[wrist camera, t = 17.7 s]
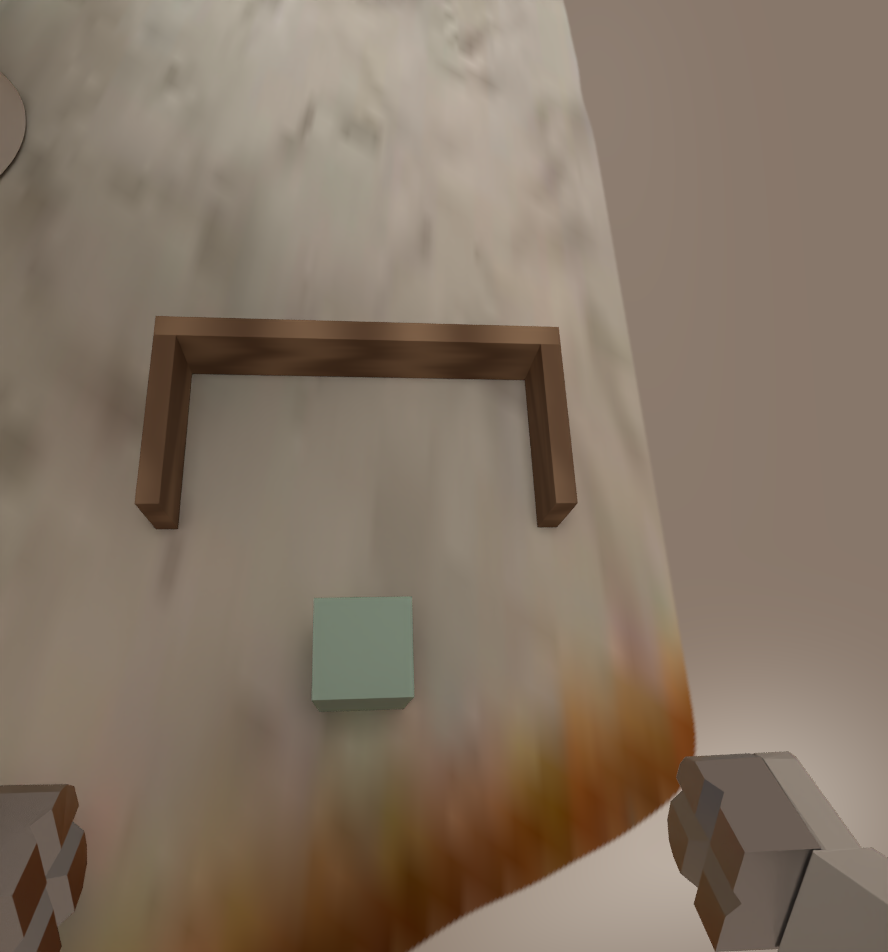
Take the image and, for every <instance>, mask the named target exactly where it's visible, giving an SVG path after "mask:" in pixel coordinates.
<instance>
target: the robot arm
mask: <svg viewBox="0 0 888 952" xmlns="http://www.w3.org/2000/svg"><path fill="white" fill-rule="evenodd" d="M25 127H26V115H25V109H24V105H23V102H22V99H21V97H20V95H19V93H18V92H17V90H16V88H15V87H14V86H13V84H12V83H11V82H10V81H9V80H8V79H7V78H6V77H5V76H4V75H3V74H2V73H1V72H0V175H1V174H2V173H3V171H4V170H5V169H6V168H7V167H8V166H9V164H10V163H11V162H12V160H13V159H14V157H15V156H16V154H17V152H18V150H19V148H20V146H21V143H22V141H23V137H24V133H25ZM676 778H677V780H678V782H679V784H680V786H681V788H682V791H681V792H680V793H679V794H678V795H677V796H676V797H675V798H674V799H673V800H672V801H671V803H670V808H669V814H668V819H667V821H668V834H669V842H670V846H671V849H672V853H673V857H674V859H675V861H676V864H677V866H678V869H679V871H680V873H681V874H682V875H683V876H684V877H685V878H687V879H688V880H689V881H690V882H692V883H693V884H694V885H695V886H696V887H698V890H697V894H696V898H695V901H694V905H695V907H696V910H697V912H698V914H699V916H700V918H701V921H702V923H703V925H704V928H705V930H706V932H707V934H708V937H709V939H710V941H711V943H712V945H713V948H714V950H715V952H719V951H742V950H765V949H778V952H888V857H886V856H885V855H883V854H882V853H880V852H878V851H877V850H875V849H874V848H862V847H861V846H860V845H859V843H858V842H857V840H856V839H855V838H854V836H853V835H852V834H851V832H850V831H849V829H848V828H847V827H846V825H845V824H844V822H843V821H842V820H841V818H840V817H839V815H838V814H837V813H836V812H835V810H834V809H833V807H832V806H831V804H830V803H829V802H828V800H827V799H826V797H825V796H824V795H823V794H822V792H821V791H820V789H819V788H818V786H817V785H816V784H815V782H814V781H813V779H812V778H811V777H810V775H809V774H808V772H807V771H806V770H805V768H804V767H803V766H802V764H801V763H800V761H799V760H798V759H797V757H796V756H794V755H792V754H791V753H790V752H768V753H754V754H730V755H711V756H693V757H685V758H684V759H683V761H682V762H681V763H680V765H679V769H678V773H677V777H676ZM78 807H79V803H78V799H77V796H76V792H75V788H74V786H71V785H68V784H54V785H0V952H60V949H61V947H62V945H61V941H60V936H59V932H58V928H57V927H58V926H59V925H60V924H61V923H62V922H63V921H64V920H65V919H66V918H68V917H69V916H70V915H71V914H72V913H73V912H74V911H75V908H76V905H77V903H78V900H79V897H80V894H81V891H82V888H83V882H84V876H85V871H86V865H87V844H86V838H85V833H84V830H82V829H81V828H80V827H79V826H77V825H76V824H75V823H74V822H72V821H73V819H74V816H75V814H76V811H77V809H78Z"/></svg>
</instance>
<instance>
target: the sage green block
mask: <svg viewBox="0 0 888 952" xmlns="http://www.w3.org/2000/svg"><path fill="white" fill-rule="evenodd" d="M413 698H414V664H413V622H412V597H350V598H314V615H313V658H312V702H313V703H314V705H315V706H316V708H317V709H318V710H319V712H330V711H360V710H390V709H404V708H405V707H406V706H407V704H408V703H409V702H410V701H411V700H412V699H413Z"/></svg>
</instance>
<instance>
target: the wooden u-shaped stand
mask: <svg viewBox="0 0 888 952" xmlns="http://www.w3.org/2000/svg"><path fill="white" fill-rule="evenodd" d="M192 374H236V375H290V376H344V377H397V378H451V379H505V380H525V387H526V399H527V410H528V422H529V433H530V445H531V456H532V468H533V479H534V491H535V502H536V514H537V525H538V527H557V526H558V525H559V524H560V523H561V522H562V521H563V519H564V518H565V517H566V516H567V515H568V514H569V512H570V511H571V510H572V509H573V508H574V507H575V506H576V504H577V503H578V502H577V493H576V483H575V474H574V465H573V456H572V446H571V437H570V428H569V418H568V409H567V400H566V391H565V381H564V372H563V363H562V354H561V344H560V335H559V327H536V326H499V325H462V324H426V323H389V322H352V321H316V320H279V319H242V318H206V317H169V316H156V318H155V327H154V336H153V345H152V354H151V363H150V371H149V380H148V389H147V398H146V407H145V416H144V425H143V434H142V442H141V451H140V460H139V469H138V478H137V487H136V496H135V505H136V506H137V507H138V508H139V509H140V511H141V512H142V513H143V514H144V515H145V516H146V518H147V519H148V520H149V521H150V522H151V524H152V525H153V526H154V527H155V528H156V529H178V523H179V511H180V500H181V489H182V478H183V467H184V456H185V445H186V434H187V423H188V412H189V400H190V389H191V378H192Z"/></svg>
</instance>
